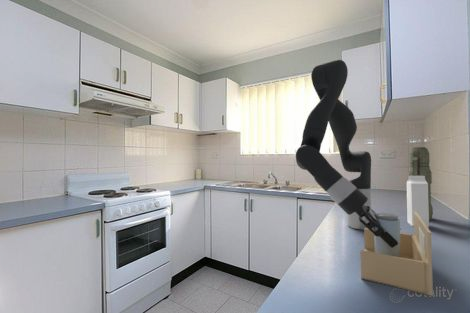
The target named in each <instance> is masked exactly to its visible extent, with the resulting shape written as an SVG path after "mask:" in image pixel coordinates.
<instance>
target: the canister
mask: <svg viewBox="0 0 470 313" xmlns="http://www.w3.org/2000/svg"><path fill="white" fill-rule="evenodd" d="M375 213H376V217H377V218H378V220H379V221H380V222H381V226H382V227H383V228H385V229H386V231H387V232H388V233H389V234H390V235H391V236H392V237H393V238H394V239H395V240H397V242H398V245H396V246H395V247H393V248H392V247H390V246H389V245H388V244H387V243H386V242H385V241H384V240H383V239H382V238H381V237H379V236H378V237H377V236H375V235H374V247H375V253H379V254H385V255H390V256H396V257H400V233H401V219H400V218H399V216H398V215H396V214H393V213H387V212H386V213H383V212H378V213H377V212H375ZM375 229H376V231H377V230H378V229H379V228H378V227H376V228H375Z"/></svg>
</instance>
